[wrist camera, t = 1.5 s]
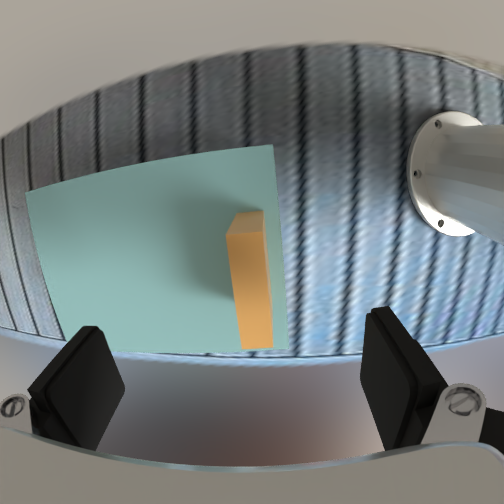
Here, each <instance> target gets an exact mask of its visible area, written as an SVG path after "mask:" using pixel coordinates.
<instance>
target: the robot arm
mask: <svg viewBox="0 0 504 504" xmlns="http://www.w3.org/2000/svg"><path fill="white" fill-rule="evenodd" d="M435 124H436V126H435ZM406 167H407V175H406V177H407V183H408V190H409V193H410V196H411V199H412V202H413V204H414V206H415V208H416V210H417V212H418V213H419V214H420V216H421V217H422V219H423V220H424V221H425V222H426V223H427V224H428V225H430V226H431V227H432V228H434V229H435V230H437V231H439V232H441V233H443V234H446V235H449V236H455V237H458V236H466V235H469V234H472V233H474V232H477V233H480V234H482V235H484V236H486V237H488V238H490V239H492V240H494V241H496V242H498V243H500V244H501V245H503V246H504V125H483V124H482V123H481V122H479V121H478V120H477V119H476V118H474V117H472V116H470V115H469V114H466V113H463V112H459V111H448V112H442V113H439V114H436V115H434V116H432V117H430V118H429V119H428V120H426V121H425V122H424V123H423V124H422V125H421V127H420V128H419V129H418V130H417V132H416V134H415V136H414V137H413V139H412V142H411V145H410V148H409V151H408V157H407V164H406ZM414 171H415V176H414ZM360 381H361V385H362V388H363V390H364V393H365V395H366V398H367V401H368V404H369V406H370V409H371V412H372V415H373V418H374V420H375V423H376V426H377V429H378V432H379V435H380V438H381V440H382V443H383V446H384V449H385V451H383V452H377V453H372V454H368V455H362V456H357V457H350V458H344V459H337V460H330V461H322V462H314V463H304V464H295V465H280V466H260V467H215V466H195V465H194V466H193V465H181V464H171V463H162V462H154V461H146V460H139V459H133V458H127V457H121V456H116V455H110V454H106V453H101V452H97V451H96V449H97V446H98V444H99V442H100V440H101V438H102V436H103V434H104V432H105V430H106V428H107V426H108V424H109V422H110V420H111V418H112V416H113V414H114V412H115V410H116V408H117V406H118V404H119V402H120V400H121V398H122V396H123V395H124V392H125V386H124V383H123V381H122V378H121V376H120V374H119V371H118V369H117V366H116V364H115V361H114V359H113V356H112V354H111V351H110V348H109V346H108V343H107V340H106V338H105V335H104V332H103V331H102V330H100V329H99V327H97V326H83V327H81V328H80V330H79V331H78V332H77V333H76V334H75V335H74V336H73V337H72V338H71V339H70V341H69V342H68V343H67V344H66V345H65V346H64V347H63V348H62V350H61V351H60V352H59V353H58V354H57V355H56V356H55V357H54V359H53V360H52V361H51V362H50V363H49V364H48V366H47V367H46V368H45V369H44V370H43V372H42V373H41V374H40V375H39V376H38V377H37V379H36V380H35V381H34V382H33V383H32V385H31V386H30V387H29V388H28V389H27V390H28V392H29V393H30V395H31V397H32V398H31V399H30V400H29V399H28V397H27V396H26V395H23V394H14V395H11V396H8V397H7V398H5V399H4V400H3V401H2V402H1V403H0V504H504V412H502V411H498V410H494V409H490V408H487V407H486V398H485V396H484V394H483V393H482V392H481V391H480V389H478V388H477V387H475V386H473V385H470V384H464V383H459V384H453V385H451V386H448V384H447V383H446V381H445V380H444V378H443V377H442V376H441V374H440V372H439V371H438V370H437V368H436V367H435V365H434V364H433V362H432V361H431V359H430V358H429V357H428V355H427V354H426V352H425V351H424V350H423V348H422V347H421V345H420V344H419V343H418V341H416V340H415V339H413V338H412V337H411V336H410V334H409V333H408V331H407V330H406V329H405V327H404V326H403V325H402V323H401V322H400V321H399V319H398V318H397V316H396V315H395V314H394V312H393V311H392V310H391V308H390V307H389V306H385V307H378V308H373V309H372V310H371V313H367V315H366V322H365V334H364V345H363V354H362V363H361V372H360Z"/></svg>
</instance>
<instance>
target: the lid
mask: <svg viewBox="0 0 504 504" xmlns="http://www.w3.org/2000/svg"><path fill="white" fill-rule="evenodd" d="M25 196H26V202H27V208H28V213H29V218H30V223H31V228H32V232H33V237H34V241H35V245H36V249H37V253H38V257H39V261H40V264H41V268H42V271H43V275H44V278H45V281H46V285H47V288H48V291H49V294H50V297H51V300H52V303H53V306H54V309H55V311H56V314H57V317H58V320H59V322H60V325H61V328H62V330H63V333H64V335H65V338H66V340H67V342H69V341H70V339H71V338H72V337H73V336H74V335H75V334H76V333H77V332H78V331H79V330H80V328H81V327H83V326H97V327H99V329H100V330H102V331H103V332H104V335H105V338H106V340H107V343H108V346H109V348H110V351H118V352H143V353H220V352H245V351H263V350H277V349H289V339H288V322H287V306H286V291H285V277H284V263H283V250H282V237H281V225H280V214H279V202H278V191H277V181H276V170H275V160H274V150H273V145H262V146H252V147H243V148H234V149H226V150H218V151H211V152H203V153H197V154H190V155H184V156H177V157H172V158H166V159H160V160H155V161H149V162H144V163H139V164H134V165H129V166H124V167H120V168H115V169H111V170H106V171H102V172H98V173H94V174H90V175H86V176H82V177H78V178H74V179H70V180H66V181H63V182H59V183H55V184H52V185H48V186H45V187H42V188H38V189H35V190H32V191H29V192H25Z"/></svg>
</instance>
